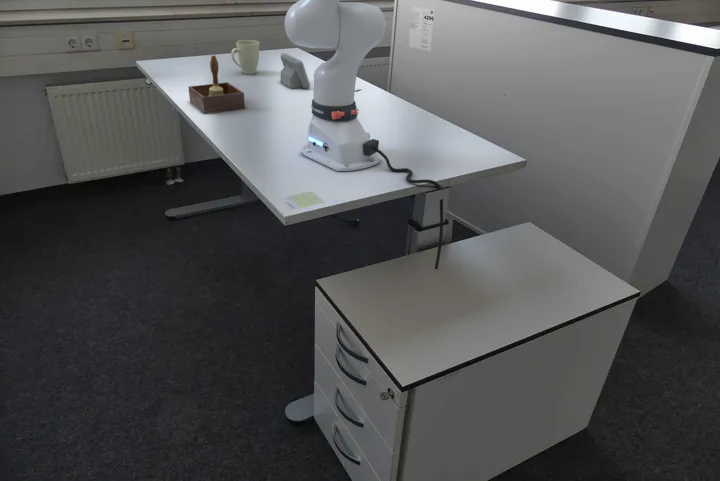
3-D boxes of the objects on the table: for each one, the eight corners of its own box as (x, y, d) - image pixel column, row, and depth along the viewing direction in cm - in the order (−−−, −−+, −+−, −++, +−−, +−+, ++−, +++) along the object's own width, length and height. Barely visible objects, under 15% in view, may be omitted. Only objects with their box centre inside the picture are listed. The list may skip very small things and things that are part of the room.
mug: (238, 69, 230) (236, 39, 224) (262, 70, 230) (261, 40, 224) (232, 76, 221) (230, 44, 215) (257, 77, 221) (255, 46, 214)
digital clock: (311, 90, 210) (311, 61, 204) (287, 91, 207) (287, 61, 201) (300, 78, 223) (300, 51, 217) (277, 79, 220) (277, 51, 214)
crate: (244, 108, 187) (243, 92, 184) (204, 113, 180) (203, 97, 178) (228, 97, 197) (227, 82, 194) (190, 102, 190) (188, 86, 187)
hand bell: (234, 104, 189) (231, 55, 181) (216, 109, 183) (212, 59, 175) (217, 99, 193) (213, 51, 185) (199, 104, 187) (194, 55, 179)
